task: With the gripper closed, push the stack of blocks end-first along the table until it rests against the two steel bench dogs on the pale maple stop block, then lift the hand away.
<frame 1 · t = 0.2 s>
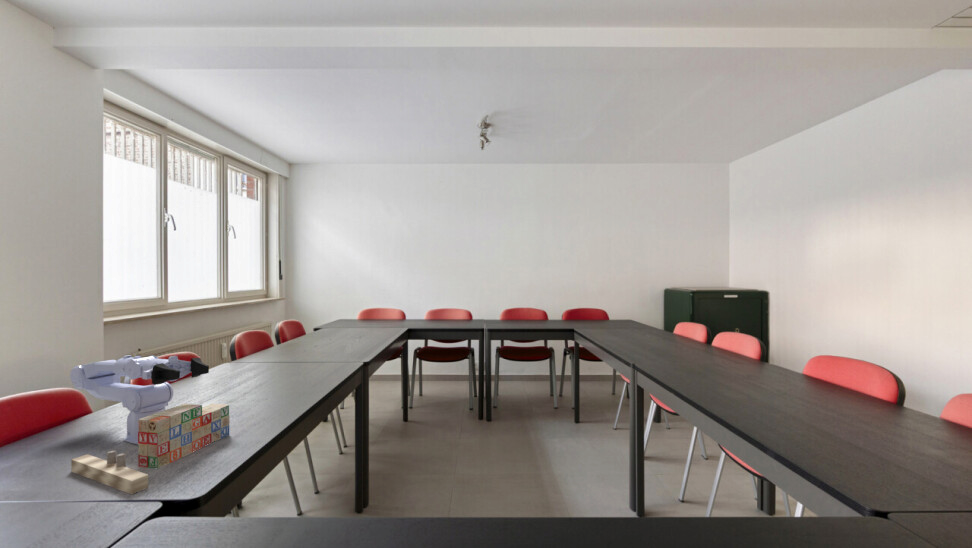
hand: (193, 372, 108), 21 cm above the table, tool horizontal, fingers open, 7 cm apart
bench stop: (108, 479, 92), on the table
stack of blocks: (187, 450, 108), on the table
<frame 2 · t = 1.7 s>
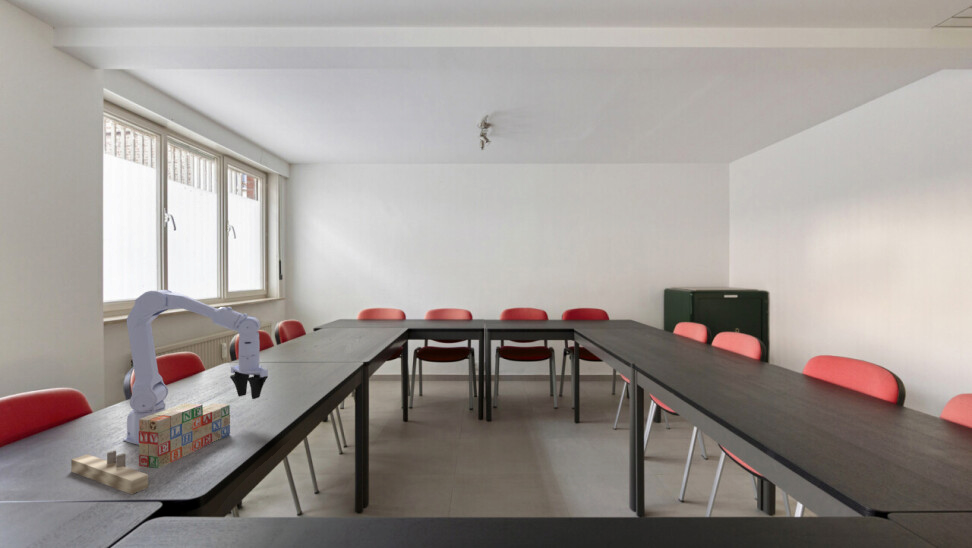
hand: (248, 396, 125), 9 cm above the table, tool pointing down, fingers open, 6 cm apart
nothing on the table moved.
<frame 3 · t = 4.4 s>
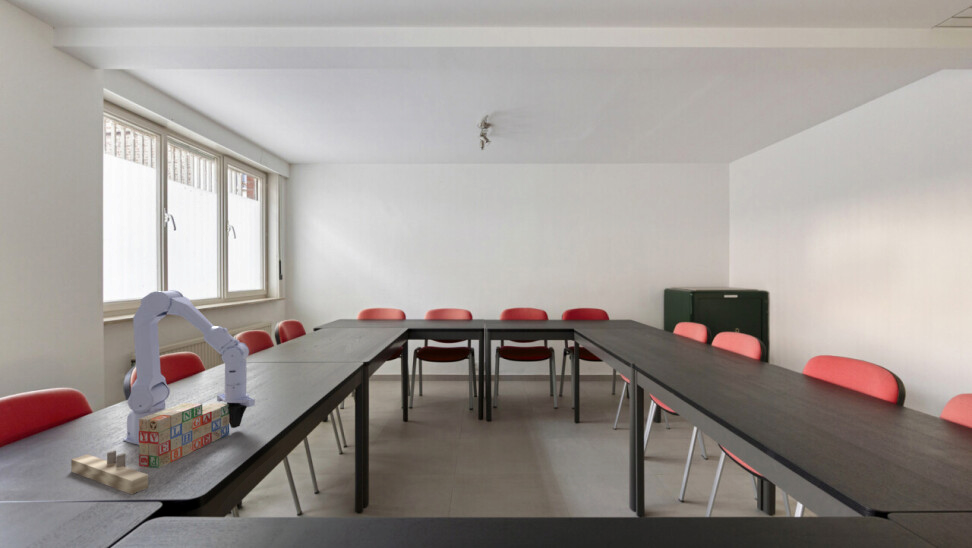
hand: (235, 426, 121), 1 cm above the table, tool pointing down, fingers closed
stack of blocks: (188, 449, 108), on the table, touching gripper
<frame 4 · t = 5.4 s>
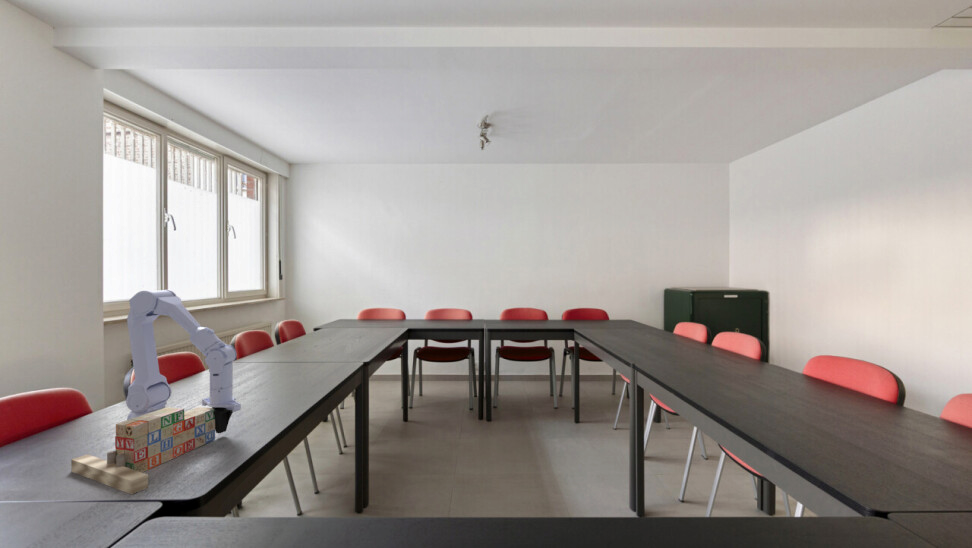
hand: (221, 431, 117), 1 cm above the table, tool pointing down, fingers closed
stack of blocks: (169, 455, 105), on the table, touching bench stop, gripper
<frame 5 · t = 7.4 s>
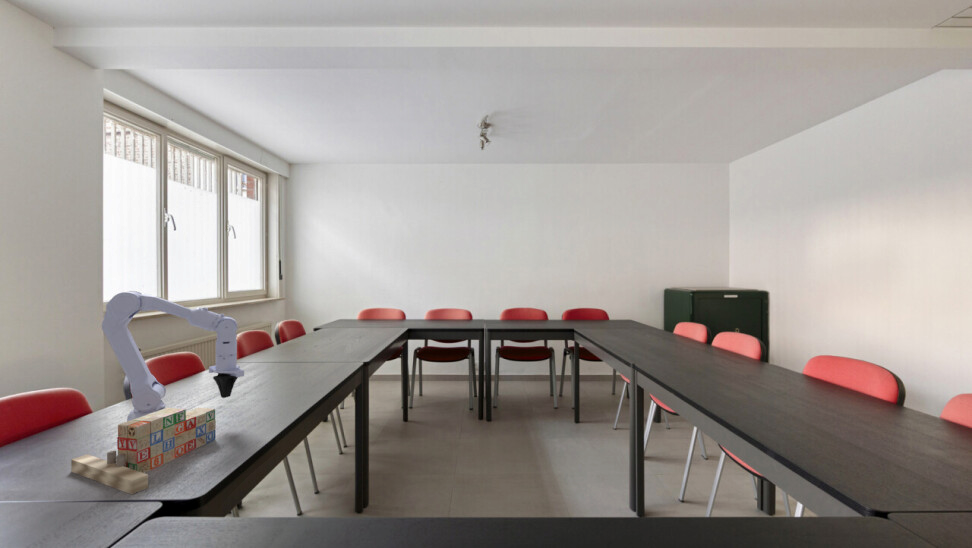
hand: (225, 396, 125), 9 cm above the table, tool pointing down, fingers closed
stack of blocks: (170, 456, 105), on the table
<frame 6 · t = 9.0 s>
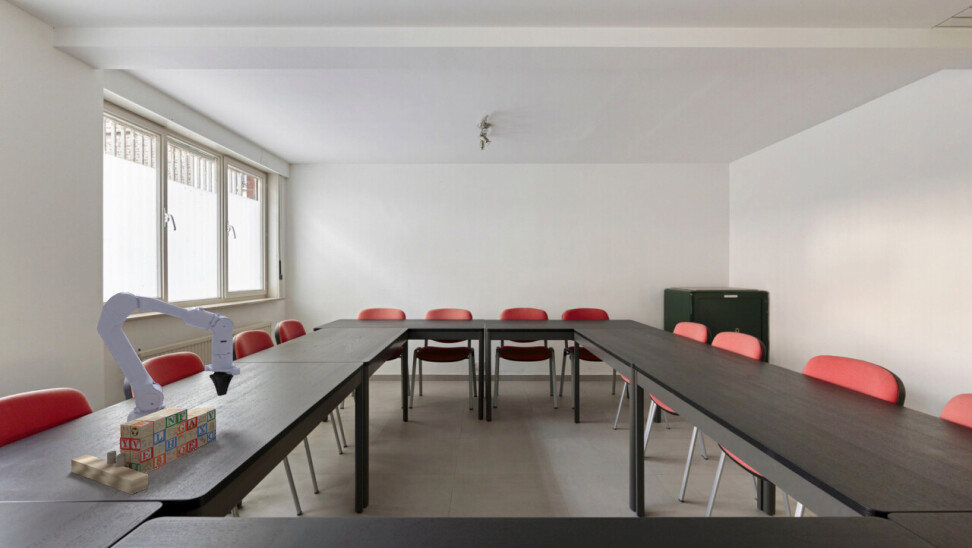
hand: (222, 394, 127), 9 cm above the table, tool pointing down, fingers closed
nothing on the table moved.
at the end: stack of blocks 1.4 cm from the target spot, on the table; stack of blocks tilted 0° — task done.
